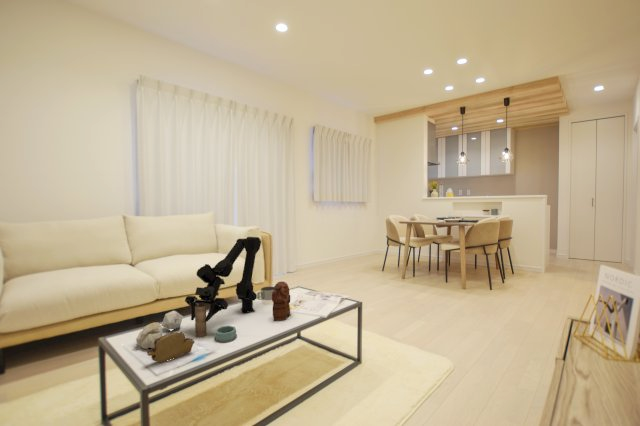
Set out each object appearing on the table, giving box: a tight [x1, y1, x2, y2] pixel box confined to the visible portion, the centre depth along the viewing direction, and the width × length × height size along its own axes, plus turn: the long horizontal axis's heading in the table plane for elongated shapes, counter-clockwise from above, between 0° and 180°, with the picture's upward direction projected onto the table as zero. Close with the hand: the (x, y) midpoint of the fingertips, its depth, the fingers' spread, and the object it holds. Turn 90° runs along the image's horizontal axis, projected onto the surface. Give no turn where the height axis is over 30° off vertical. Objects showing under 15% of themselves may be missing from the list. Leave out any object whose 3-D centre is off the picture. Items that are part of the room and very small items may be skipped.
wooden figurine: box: [271, 281, 291, 322], centre depth 161 cm, size 12×6×18 cm, turn 161°
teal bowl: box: [214, 325, 238, 344], centre depth 137 cm, size 9×9×4 cm
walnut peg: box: [194, 302, 207, 339], centre depth 140 cm, size 4×4×15 cm
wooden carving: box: [146, 331, 195, 363], centre depth 120 cm, size 16×5×10 cm, turn 136°
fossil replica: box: [136, 321, 163, 350], centre depth 131 cm, size 12×8×10 cm
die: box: [160, 310, 184, 330], centre depth 147 cm, size 8×9×10 cm
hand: (198, 320), depth 138 cm, fingers open, 7 cm apart
